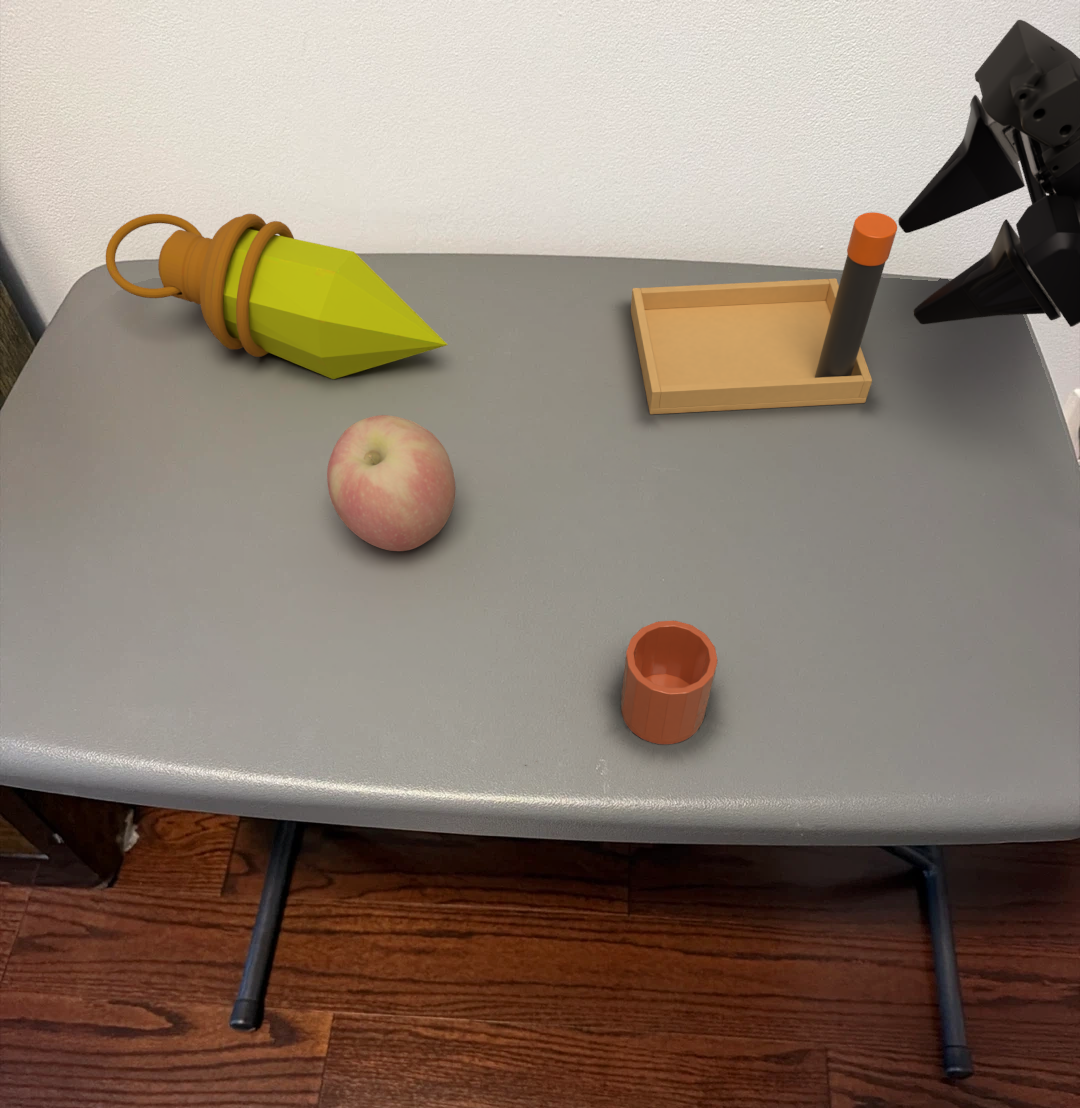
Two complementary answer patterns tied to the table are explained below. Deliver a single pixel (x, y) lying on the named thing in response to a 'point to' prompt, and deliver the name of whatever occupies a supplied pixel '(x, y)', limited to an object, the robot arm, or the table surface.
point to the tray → (739, 346)
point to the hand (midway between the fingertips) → (908, 270)
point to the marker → (856, 293)
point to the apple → (391, 482)
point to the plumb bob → (283, 295)
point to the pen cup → (667, 681)
